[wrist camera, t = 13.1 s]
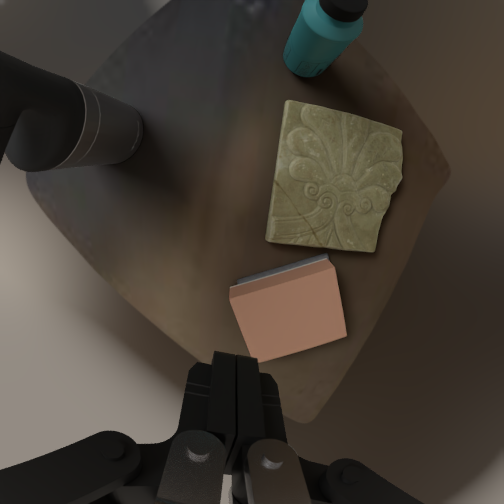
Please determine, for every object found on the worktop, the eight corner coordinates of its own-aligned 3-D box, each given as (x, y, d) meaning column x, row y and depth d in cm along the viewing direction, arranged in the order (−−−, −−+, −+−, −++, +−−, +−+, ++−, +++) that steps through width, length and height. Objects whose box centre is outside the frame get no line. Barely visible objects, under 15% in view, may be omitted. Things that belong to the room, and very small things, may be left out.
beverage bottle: (309, 89, 36) (365, 39, 17) (270, 64, 35) (296, -6, 16) (332, 59, 35) (395, 1, 16) (294, 34, 34) (332, -41, 15)
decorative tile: (263, 238, 43) (265, 244, 40) (282, 101, 37) (286, 96, 34) (376, 252, 45) (386, 259, 41) (398, 130, 39) (410, 129, 35)
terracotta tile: (254, 363, 44) (346, 336, 43) (229, 298, 40) (334, 267, 39) (252, 349, 47) (339, 323, 47) (229, 286, 44) (326, 257, 43)
